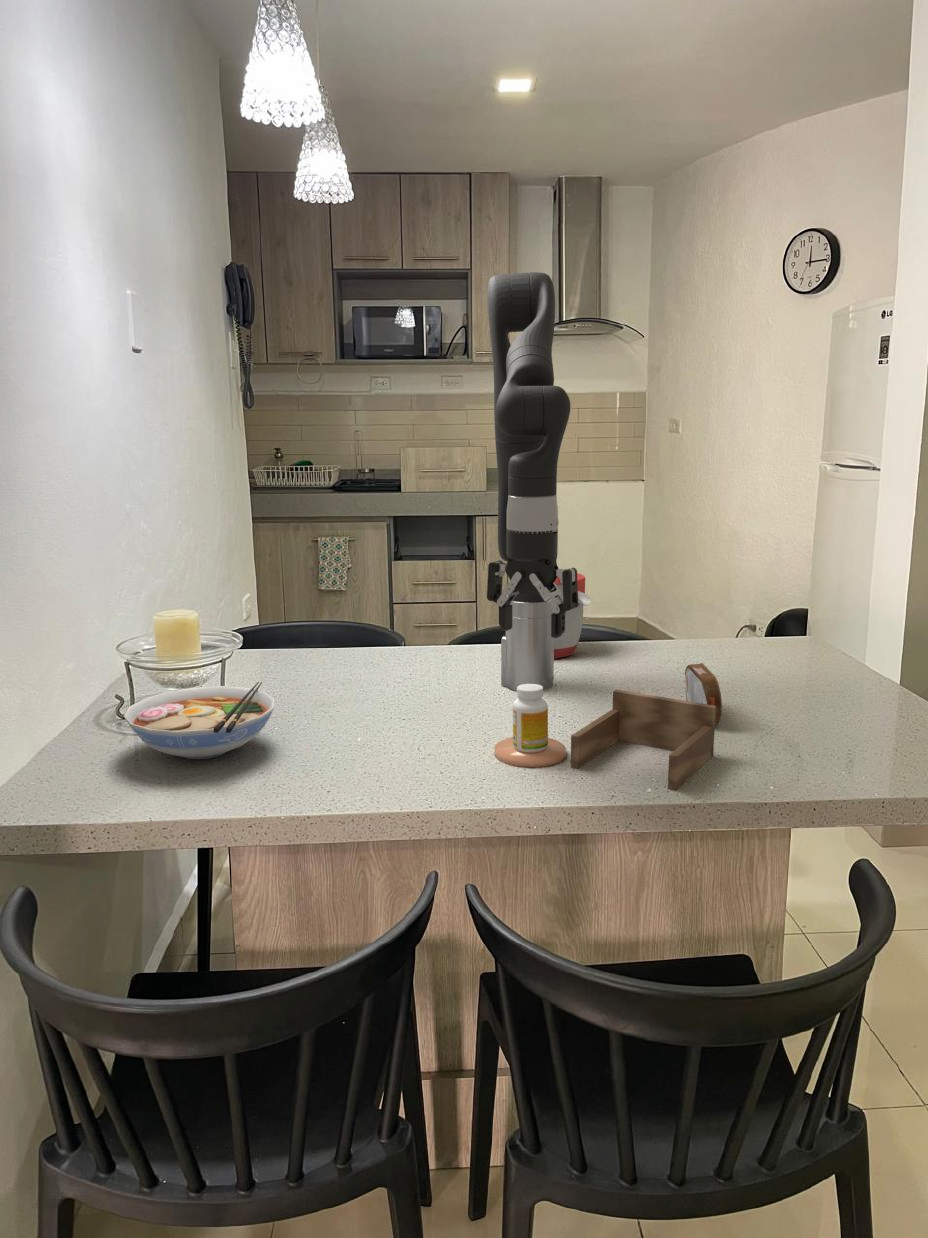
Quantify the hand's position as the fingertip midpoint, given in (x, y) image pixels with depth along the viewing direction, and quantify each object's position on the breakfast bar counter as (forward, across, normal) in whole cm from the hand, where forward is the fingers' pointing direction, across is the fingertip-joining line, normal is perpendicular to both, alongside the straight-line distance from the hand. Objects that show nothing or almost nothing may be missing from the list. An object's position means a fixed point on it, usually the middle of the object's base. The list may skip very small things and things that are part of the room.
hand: (531, 633), depth 143 cm
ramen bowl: (+19, -44, -26) cm, 55 cm away
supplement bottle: (+18, 0, 0) cm, 18 cm away
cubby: (+19, +16, +6) cm, 26 cm away
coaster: (+19, 0, 0) cm, 19 cm away
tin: (+20, +16, +32) cm, 41 cm away
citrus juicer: (+20, -26, +56) cm, 65 cm away
